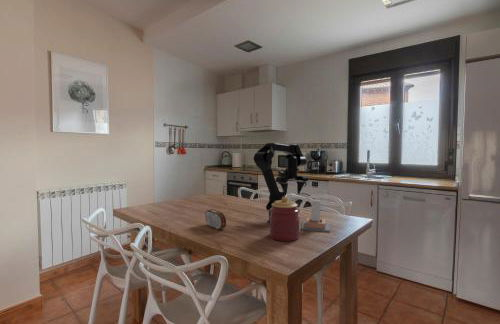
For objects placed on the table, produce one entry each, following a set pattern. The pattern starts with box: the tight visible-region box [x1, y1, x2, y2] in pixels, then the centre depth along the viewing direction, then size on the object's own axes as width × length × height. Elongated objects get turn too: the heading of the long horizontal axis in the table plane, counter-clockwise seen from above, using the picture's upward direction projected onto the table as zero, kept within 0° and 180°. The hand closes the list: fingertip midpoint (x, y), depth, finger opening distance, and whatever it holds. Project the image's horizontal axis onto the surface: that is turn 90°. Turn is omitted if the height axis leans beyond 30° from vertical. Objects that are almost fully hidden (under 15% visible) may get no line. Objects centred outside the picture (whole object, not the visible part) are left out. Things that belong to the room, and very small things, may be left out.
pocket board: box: [300, 217, 331, 233], centre depth 129 cm, size 13×13×3 cm
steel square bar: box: [310, 198, 321, 222], centre depth 128 cm, size 4×4×12 cm
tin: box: [204, 208, 227, 231], centre depth 128 cm, size 15×3×8 cm, turn 41°
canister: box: [269, 195, 301, 242], centre depth 114 cm, size 13×13×18 cm
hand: (292, 194), depth 147 cm, fingers open, 9 cm apart
